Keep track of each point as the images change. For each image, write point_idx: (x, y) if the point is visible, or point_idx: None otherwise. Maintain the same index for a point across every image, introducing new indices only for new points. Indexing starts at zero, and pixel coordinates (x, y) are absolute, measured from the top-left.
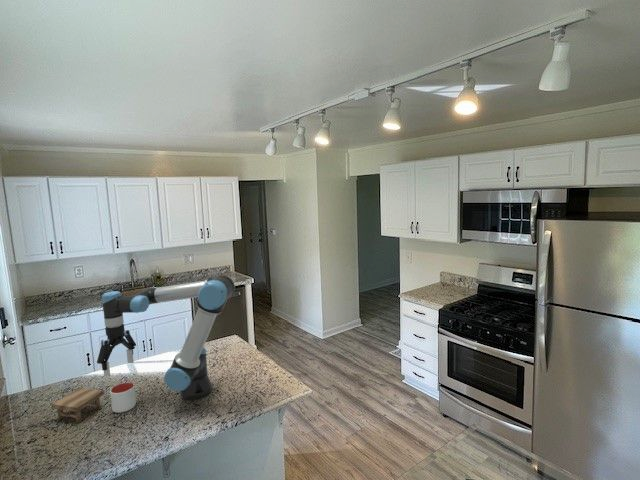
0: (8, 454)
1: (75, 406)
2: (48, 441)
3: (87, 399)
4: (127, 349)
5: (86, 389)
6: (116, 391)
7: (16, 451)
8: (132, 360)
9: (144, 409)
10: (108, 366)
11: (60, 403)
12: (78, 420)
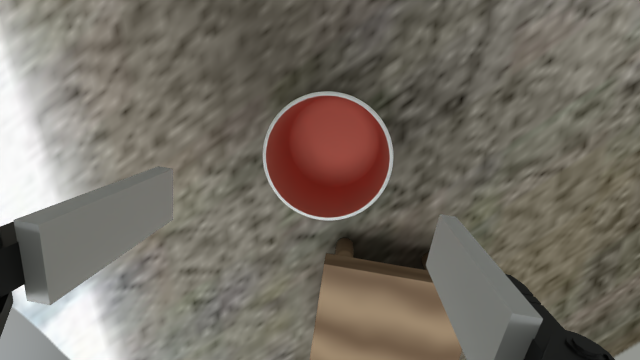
0: None
1: None
2: (547, 284)
3: (408, 287)
4: (35, 294)
5: (318, 346)
6: (311, 201)
7: None
8: (152, 174)
9: (343, 33)
10: (496, 274)
11: None
12: None
